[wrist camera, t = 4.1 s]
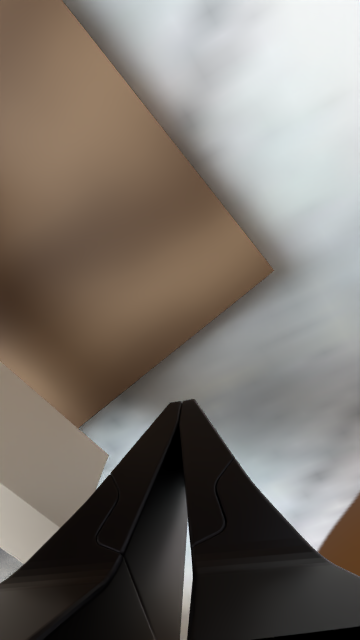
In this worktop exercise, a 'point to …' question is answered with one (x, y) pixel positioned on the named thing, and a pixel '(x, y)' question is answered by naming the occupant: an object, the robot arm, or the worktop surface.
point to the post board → (98, 222)
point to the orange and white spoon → (39, 468)
